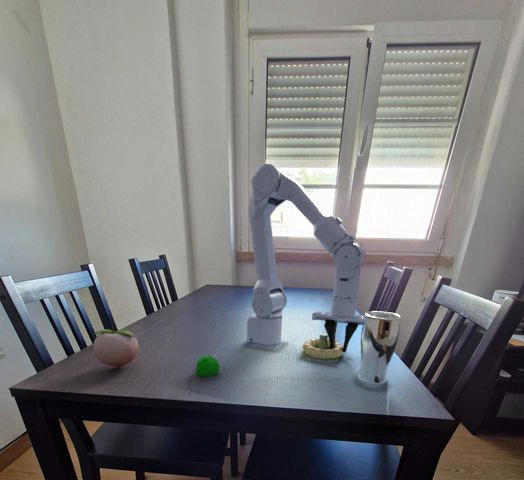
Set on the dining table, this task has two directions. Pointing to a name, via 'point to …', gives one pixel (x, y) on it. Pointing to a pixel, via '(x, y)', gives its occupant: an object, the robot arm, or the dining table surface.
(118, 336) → the decorative fruit
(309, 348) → the ring
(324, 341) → the post stand
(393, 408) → the dining table surface
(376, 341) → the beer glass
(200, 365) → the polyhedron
